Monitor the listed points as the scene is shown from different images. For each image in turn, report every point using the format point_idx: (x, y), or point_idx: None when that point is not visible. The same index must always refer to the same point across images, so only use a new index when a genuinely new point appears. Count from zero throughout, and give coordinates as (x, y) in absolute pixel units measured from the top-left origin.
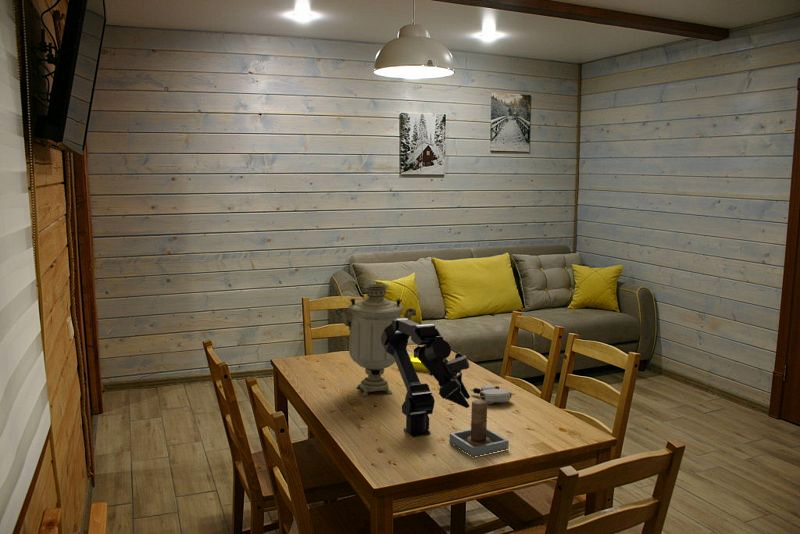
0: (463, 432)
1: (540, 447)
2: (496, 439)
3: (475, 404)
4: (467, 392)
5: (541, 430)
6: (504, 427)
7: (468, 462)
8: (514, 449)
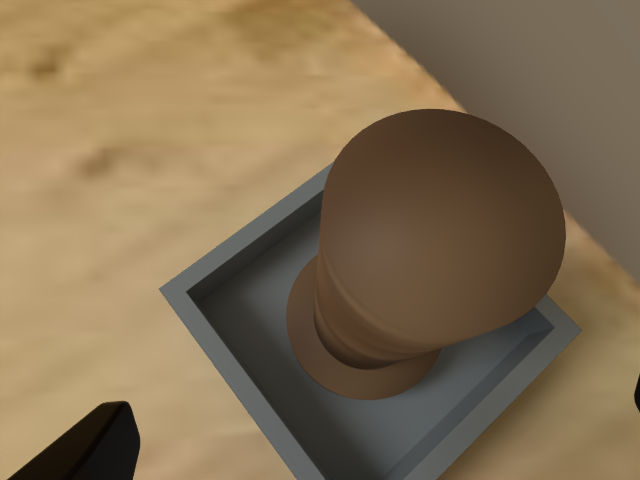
0: (294, 437)
1: (295, 26)
2: (313, 208)
3: (546, 265)
4: (76, 468)
5: (69, 15)
6: (29, 187)
7: (610, 360)
8: (350, 131)
